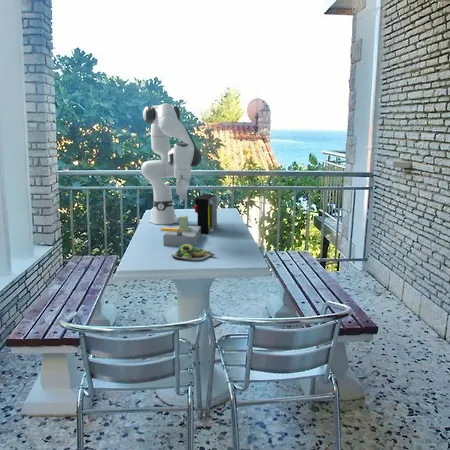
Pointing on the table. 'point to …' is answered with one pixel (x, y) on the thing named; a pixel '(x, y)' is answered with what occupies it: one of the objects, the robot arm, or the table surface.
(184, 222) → the plug
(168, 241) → the grey flat block
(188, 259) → the salad plate
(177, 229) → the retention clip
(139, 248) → the table surface
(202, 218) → the electrical component
